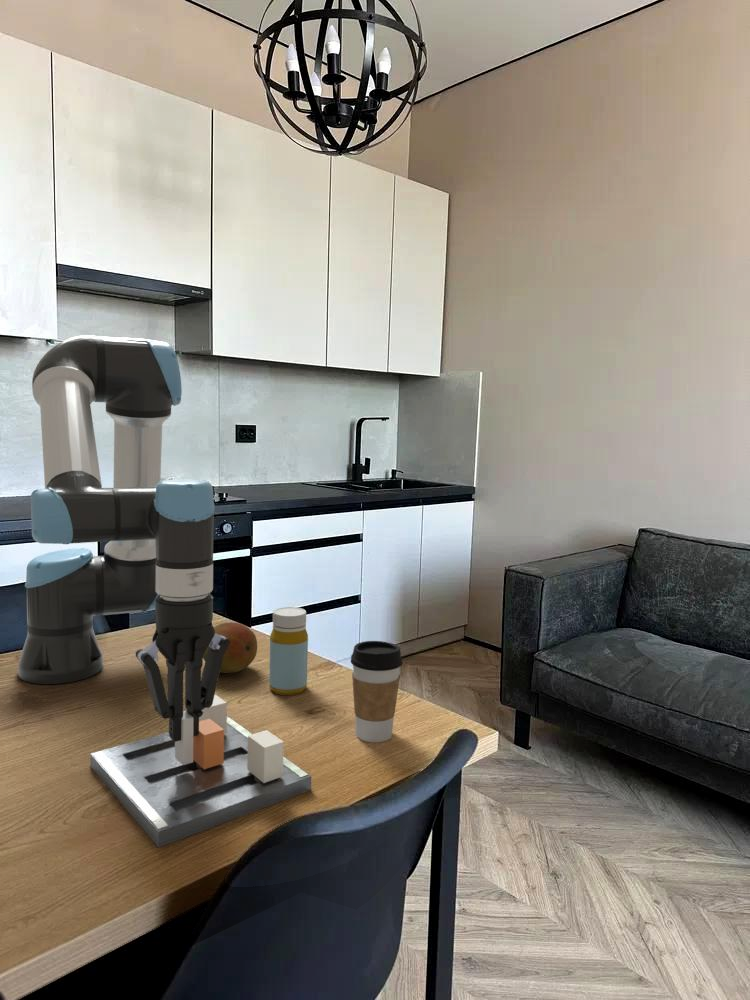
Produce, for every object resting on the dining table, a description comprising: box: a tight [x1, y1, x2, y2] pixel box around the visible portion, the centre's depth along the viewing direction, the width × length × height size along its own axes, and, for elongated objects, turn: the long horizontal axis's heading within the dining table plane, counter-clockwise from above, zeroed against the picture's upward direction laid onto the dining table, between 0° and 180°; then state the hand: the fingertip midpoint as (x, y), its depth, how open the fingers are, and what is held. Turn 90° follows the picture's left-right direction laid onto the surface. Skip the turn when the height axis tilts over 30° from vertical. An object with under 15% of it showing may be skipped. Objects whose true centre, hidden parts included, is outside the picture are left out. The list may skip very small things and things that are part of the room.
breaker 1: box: [199, 694, 228, 734], centre depth 110 cm, size 4×3×6 cm
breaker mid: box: [193, 719, 224, 769], centre depth 101 cm, size 4×3×6 cm
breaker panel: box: [89, 715, 312, 848], centre depth 100 cm, size 24×22×2 cm
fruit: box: [203, 621, 258, 674], centre depth 141 cm, size 12×12×10 cm
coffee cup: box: [350, 640, 403, 743], centre depth 115 cm, size 8×8×15 cm
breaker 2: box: [247, 729, 285, 783], centre depth 98 cm, size 4×3×6 cm
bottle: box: [268, 606, 309, 696], centre depth 133 cm, size 7×7×15 cm
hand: (183, 759), depth 99 cm, fingers closed
